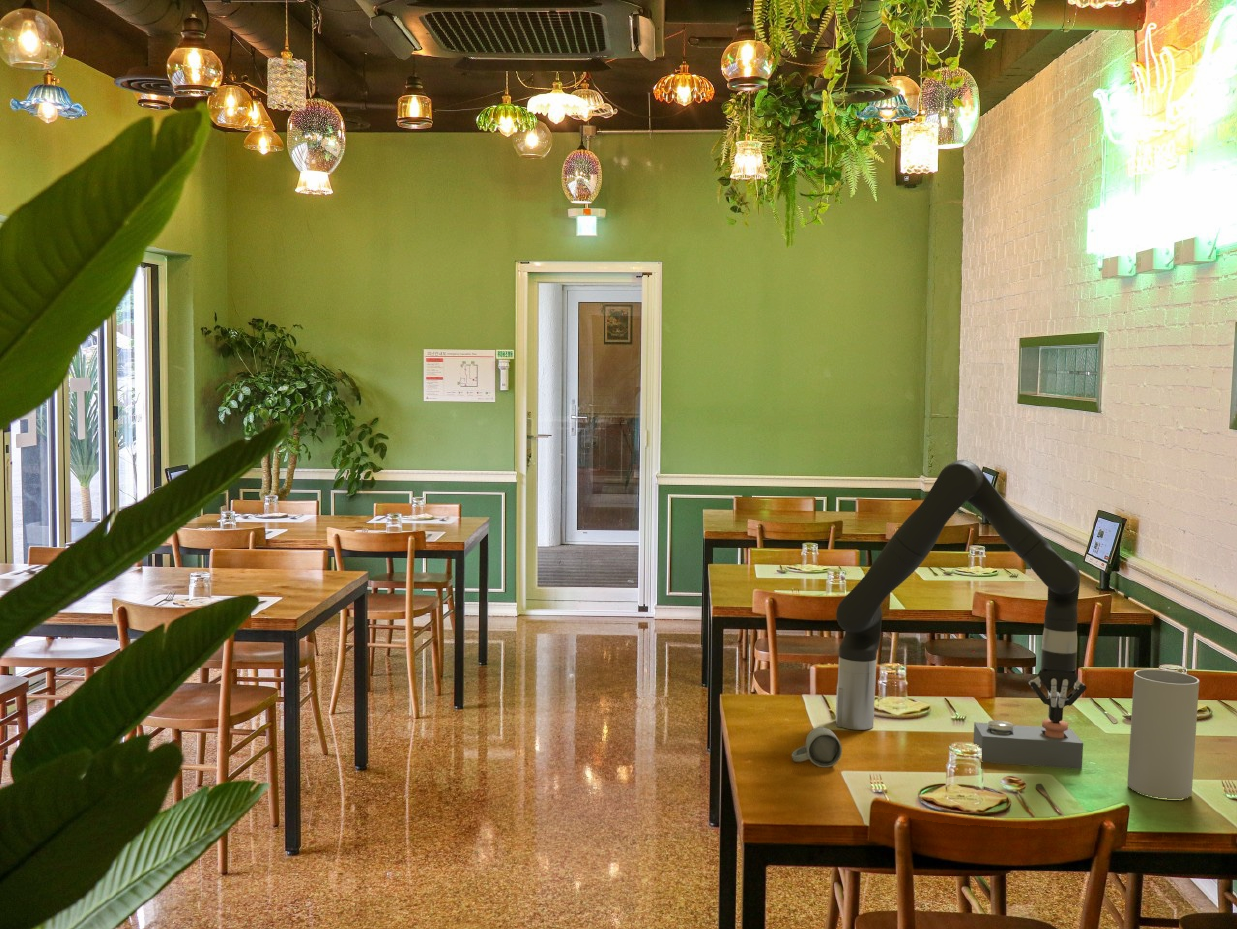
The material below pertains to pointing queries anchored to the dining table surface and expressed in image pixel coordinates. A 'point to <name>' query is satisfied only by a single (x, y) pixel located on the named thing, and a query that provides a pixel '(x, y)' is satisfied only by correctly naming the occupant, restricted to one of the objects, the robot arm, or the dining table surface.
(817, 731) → the ceramic mug
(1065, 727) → the terracotta plunger
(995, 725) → the steel plunger
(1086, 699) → the dining table surface
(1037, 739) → the plunger housing
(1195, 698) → the cylinder vase
